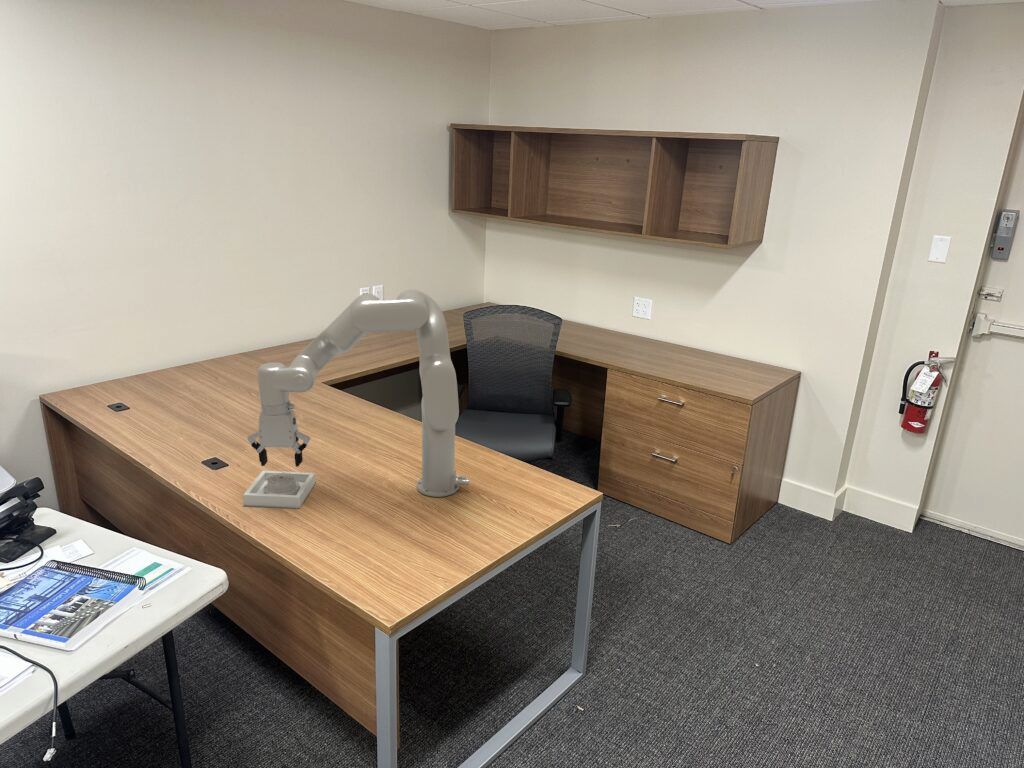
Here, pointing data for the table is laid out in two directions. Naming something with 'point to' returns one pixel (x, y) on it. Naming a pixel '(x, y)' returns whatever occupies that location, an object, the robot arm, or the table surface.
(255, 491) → the tray
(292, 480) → the mechanical component
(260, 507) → the grey flat plate
